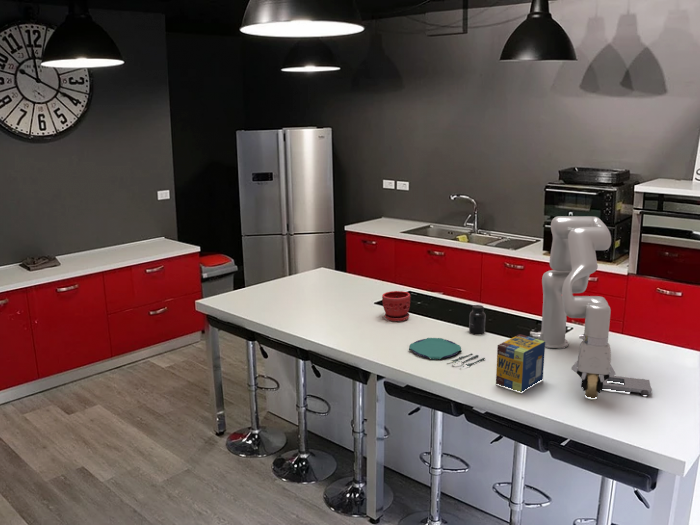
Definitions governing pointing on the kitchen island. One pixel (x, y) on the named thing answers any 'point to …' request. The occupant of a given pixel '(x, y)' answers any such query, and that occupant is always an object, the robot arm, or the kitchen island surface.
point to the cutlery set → (438, 349)
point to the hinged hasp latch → (628, 384)
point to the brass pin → (592, 385)
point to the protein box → (520, 362)
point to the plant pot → (396, 305)
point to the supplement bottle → (477, 320)
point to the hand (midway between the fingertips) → (591, 389)
